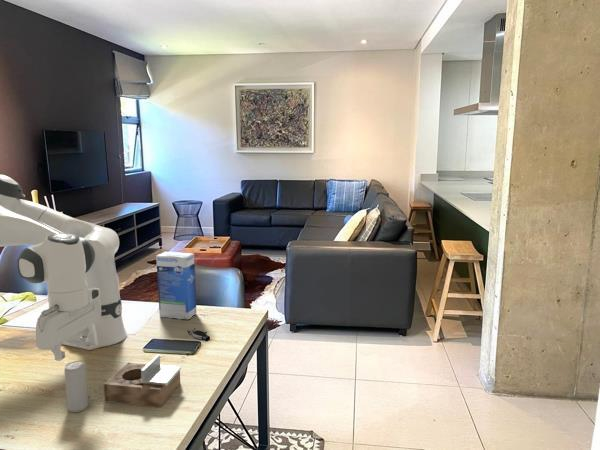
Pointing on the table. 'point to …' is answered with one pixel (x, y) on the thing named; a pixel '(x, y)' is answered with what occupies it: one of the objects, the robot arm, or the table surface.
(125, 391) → the socket block
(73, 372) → the beverage can
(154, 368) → the panel
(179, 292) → the string lights box
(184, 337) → the table surface
